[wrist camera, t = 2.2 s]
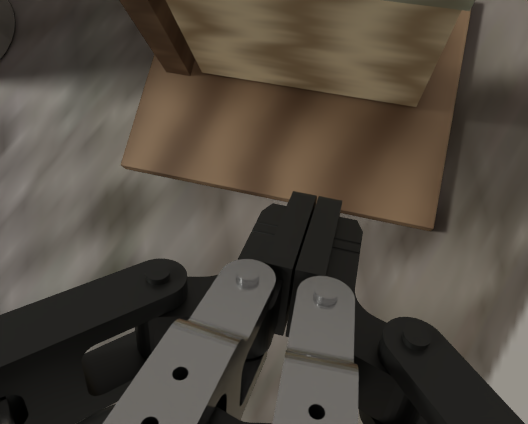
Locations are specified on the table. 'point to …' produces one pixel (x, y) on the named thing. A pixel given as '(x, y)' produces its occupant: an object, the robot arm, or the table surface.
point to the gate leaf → (322, 42)
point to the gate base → (291, 131)
